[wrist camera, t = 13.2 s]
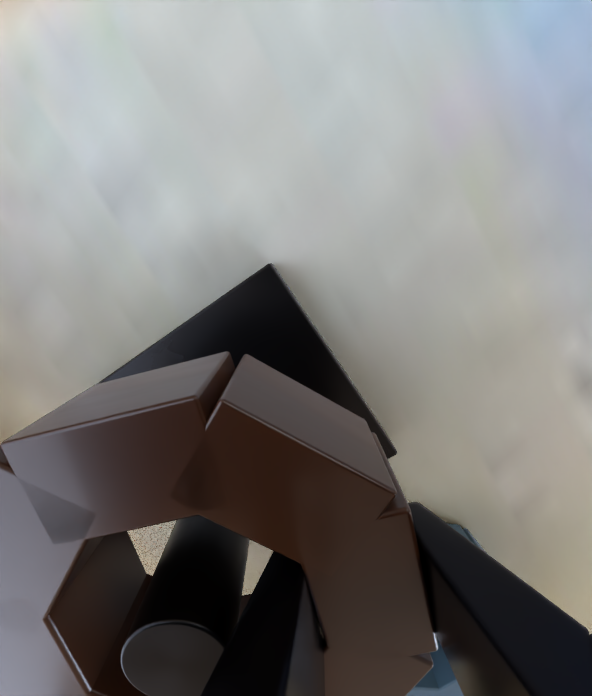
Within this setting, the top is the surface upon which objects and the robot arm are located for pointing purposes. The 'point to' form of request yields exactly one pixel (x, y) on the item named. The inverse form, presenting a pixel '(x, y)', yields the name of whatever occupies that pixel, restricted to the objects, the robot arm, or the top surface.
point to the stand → (198, 532)
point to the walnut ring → (213, 504)
